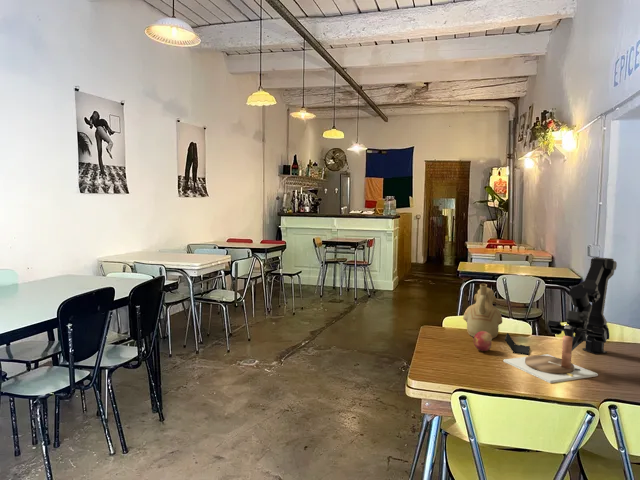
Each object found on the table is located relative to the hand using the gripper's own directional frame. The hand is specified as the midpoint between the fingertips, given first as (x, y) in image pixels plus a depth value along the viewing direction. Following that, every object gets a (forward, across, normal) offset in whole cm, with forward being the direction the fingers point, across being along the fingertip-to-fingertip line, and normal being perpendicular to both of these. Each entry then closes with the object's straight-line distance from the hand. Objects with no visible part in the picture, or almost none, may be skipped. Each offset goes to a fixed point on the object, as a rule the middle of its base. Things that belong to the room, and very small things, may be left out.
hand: (570, 350), depth 163 cm
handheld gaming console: (-3, -23, +15) cm, 28 cm away
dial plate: (+6, -7, +5) cm, 11 cm away
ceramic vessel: (-11, -43, +22) cm, 49 cm away
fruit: (+5, -33, +6) cm, 34 cm away
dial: (+5, -7, +5) cm, 10 cm away
